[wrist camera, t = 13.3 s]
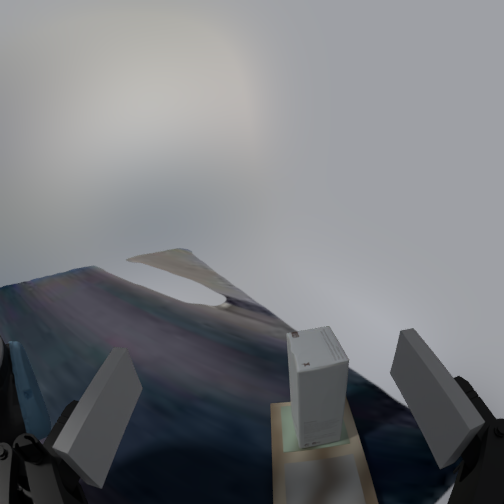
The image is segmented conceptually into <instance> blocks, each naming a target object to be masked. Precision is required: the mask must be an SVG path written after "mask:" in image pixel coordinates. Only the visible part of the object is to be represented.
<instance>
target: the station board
mask: <svg viewBox="0 0 504 504" xmlns="http://www.w3.org/2000/svg"><path fill="white" fill-rule="evenodd" d="M271 431H272V468H273V504H378V500H377V497H376V493H375V489H374V486H373V482H372V479H371V475H370V472H369V468H368V465H367V462H366V458H365V455H364V452H363V448H362V445H361V442H360V438H359V435H358V432H357V429H356V426H355V423H354V419H353V416H352V413H351V410H350V407H349V404H348V401H347V398H345V408H344V416H343V423H342V431H341V438H340V440H339V441H338V442H334V443H329V444H324V445H318V446H312V447H307V448H299V444H298V439H297V436H296V432H295V428H294V424H293V419H292V414H291V402H285V403H272V404H271Z"/></svg>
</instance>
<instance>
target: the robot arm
mask: <svg viewBox="0 0 504 504" xmlns="http://www.w3.org/2000/svg"><path fill="white" fill-rule="evenodd" d="M390 374H391V376H392V377H393V379H394V381H395V383H396V385H397V386H398V388H399V390H400V391H401V394H402V395H403V397H404V399H405V401H406V403H407V405H408V407H409V408H410V410H411V412H412V414H413V416H414V418H415V420H416V422H417V424H418V426H419V428H420V429H421V431H422V433H423V435H424V437H425V439H426V441H427V443H428V445H429V447H430V449H431V452H432V454H433V456H434V458H435V460H436V462H437V464H438V466H439V468H440V469H442V468H444V467H446V466H448V465H451V464H453V463H455V461H456V460H457V459H458V458H459V457H460V455H461V456H462V458H463V460H462V462H461V463H460V464H459V465H458V466H457V467H456V468H455V470H454V472H453V473H454V474H455V473H456V472H457V471H458V470H459V471H458V475H457V478H456V481H455V484H454V487H453V490H452V493H451V495H450V498H449V501H448V504H504V419H496V418H495V417H494V416H493V414H492V413H491V411H490V410H489V409H488V407H487V406H486V405H485V403H484V402H483V401H482V399H481V398H480V397H478V394H477V393H476V391H474V389H473V388H472V386H471V385H470V384H469V382H468V381H466V380H465V379H463V378H462V377H460V376H457V377H455V378H453V377H452V376H451V374H450V373H449V372H448V370H447V369H446V368H445V367H444V365H443V364H442V363H441V362H440V360H439V359H438V358H437V356H436V355H435V354H434V353H433V351H432V350H431V349H430V348H429V347H428V345H427V344H426V343H425V342H424V340H423V339H422V338H421V337H420V336H419V335H418V333H417V332H416V331H415V330H414V329H413V328H412V329H407V330H402V331H400V335H399V339H398V344H397V348H396V352H395V356H394V360H393V364H392V368H391V372H390ZM142 389H143V388H142V386H141V383H140V381H139V378H138V376H137V373H136V371H135V368H134V366H133V363H132V360H131V358H130V355H129V352H128V349H127V348H117V347H114V348H113V350H112V351H111V353H110V354H109V356H108V357H107V359H106V360H105V362H104V363H103V365H102V366H101V368H100V369H99V371H98V372H97V374H96V375H95V377H94V378H93V380H92V382H91V383H90V385H89V386H88V388H87V390H86V391H85V393H84V394H83V396H82V398H81V399H80V401H75V400H74V401H72V402H71V403H70V404H69V405H67V406H66V407H65V409H64V411H63V412H62V414H61V417H59V419H58V420H57V423H56V424H55V425H54V427H53V428H52V430H51V422H50V418H49V414H48V411H47V408H46V405H45V402H44V400H43V397H42V394H41V391H40V389H39V386H38V383H37V380H36V378H35V375H34V372H33V369H32V367H31V364H30V362H29V359H28V357H27V354H26V352H25V350H24V348H23V346H22V345H21V344H20V343H19V342H17V341H15V342H12V341H10V342H9V343H8V344H6V345H5V343H4V341H3V340H2V338H1V336H0V504H88V502H87V499H86V497H85V495H84V492H83V490H82V487H81V485H80V484H79V482H78V481H79V479H80V478H81V479H82V480H83V481H84V482H86V483H87V484H89V485H92V486H95V487H98V488H101V489H102V487H103V485H104V482H105V479H106V477H107V474H108V471H109V469H110V466H111V464H112V461H113V458H114V456H115V453H116V451H117V448H118V446H119V443H120V441H121V438H122V436H123V433H124V431H125V429H126V426H127V424H128V421H129V419H130V417H131V414H132V412H133V409H134V407H135V405H136V402H137V400H138V398H139V396H140V393H141V391H142ZM50 431H51V432H50ZM47 436H48V437H47ZM45 437H47V439H46V440H45V442H44V444H43V445H42V444H41V442H40V441H39V440H41V439H43V438H45ZM13 449H14V450H15V451H14V450H13Z"/></svg>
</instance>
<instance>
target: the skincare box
mask: <svg viewBox="0 0 504 504" xmlns="http://www.w3.org/2000/svg"><path fill="white" fill-rule="evenodd" d="M287 348H288V362H289V378H290V396H291V414H292V419H293V424H294V428H295V432H296V436H297V439H298V444H299V448H307V447H312V446H318V445H324V444H329V443H334V442H338V441H339V440H340V438H341V431H342V423H343V416H344V408H345V398H346V388H347V377H348V365H349V364H348V363H349V359H348V357H347V355H346V354H345V352H344V350H343V349H342V347H341V345H340V343H339V342H338V340H337V338H336V336H335V335H334V333H333V332H332V330H331V328H330V327H329V326H326V327H320V328H315V329H309V330H304V331H298V332H292V333H287Z"/></svg>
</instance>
